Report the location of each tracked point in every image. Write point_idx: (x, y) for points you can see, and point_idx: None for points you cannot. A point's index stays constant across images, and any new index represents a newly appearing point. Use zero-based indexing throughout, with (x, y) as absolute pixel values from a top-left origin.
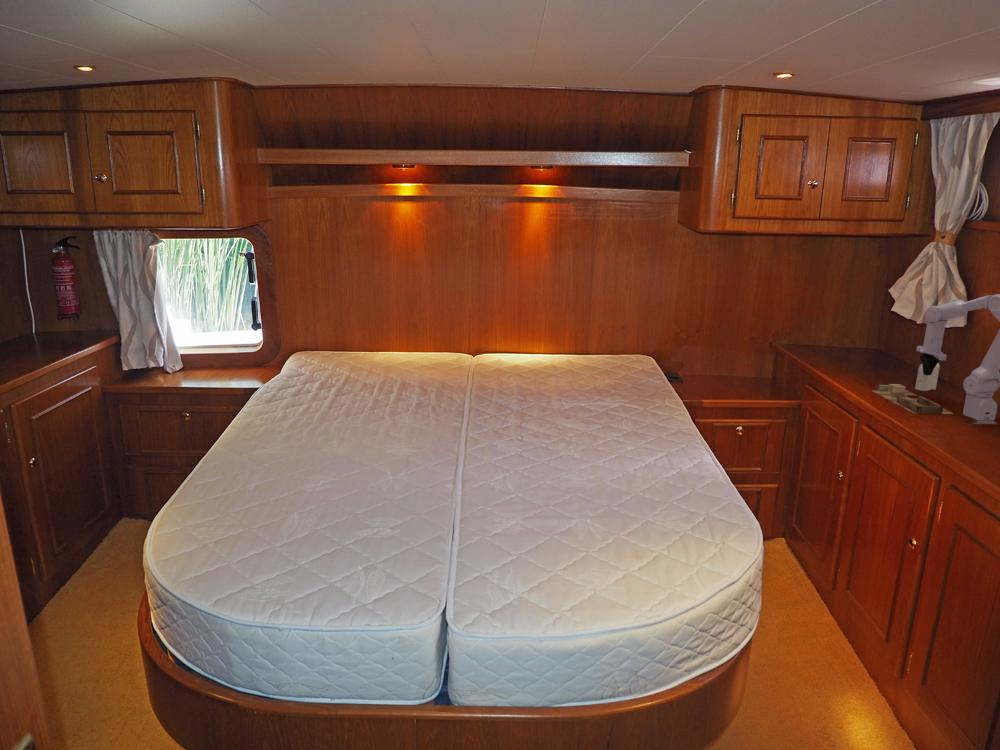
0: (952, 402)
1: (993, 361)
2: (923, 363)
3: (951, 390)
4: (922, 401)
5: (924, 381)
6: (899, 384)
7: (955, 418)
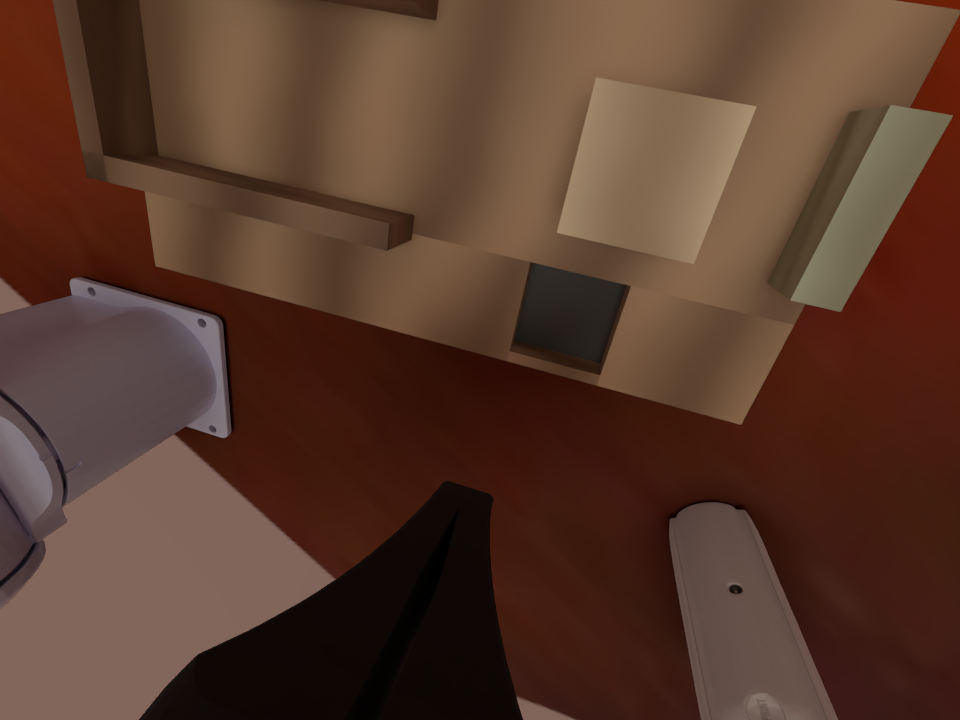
0: None
1: None
2: (445, 618)
3: (676, 709)
4: (328, 201)
5: (697, 598)
6: (682, 248)
7: None
